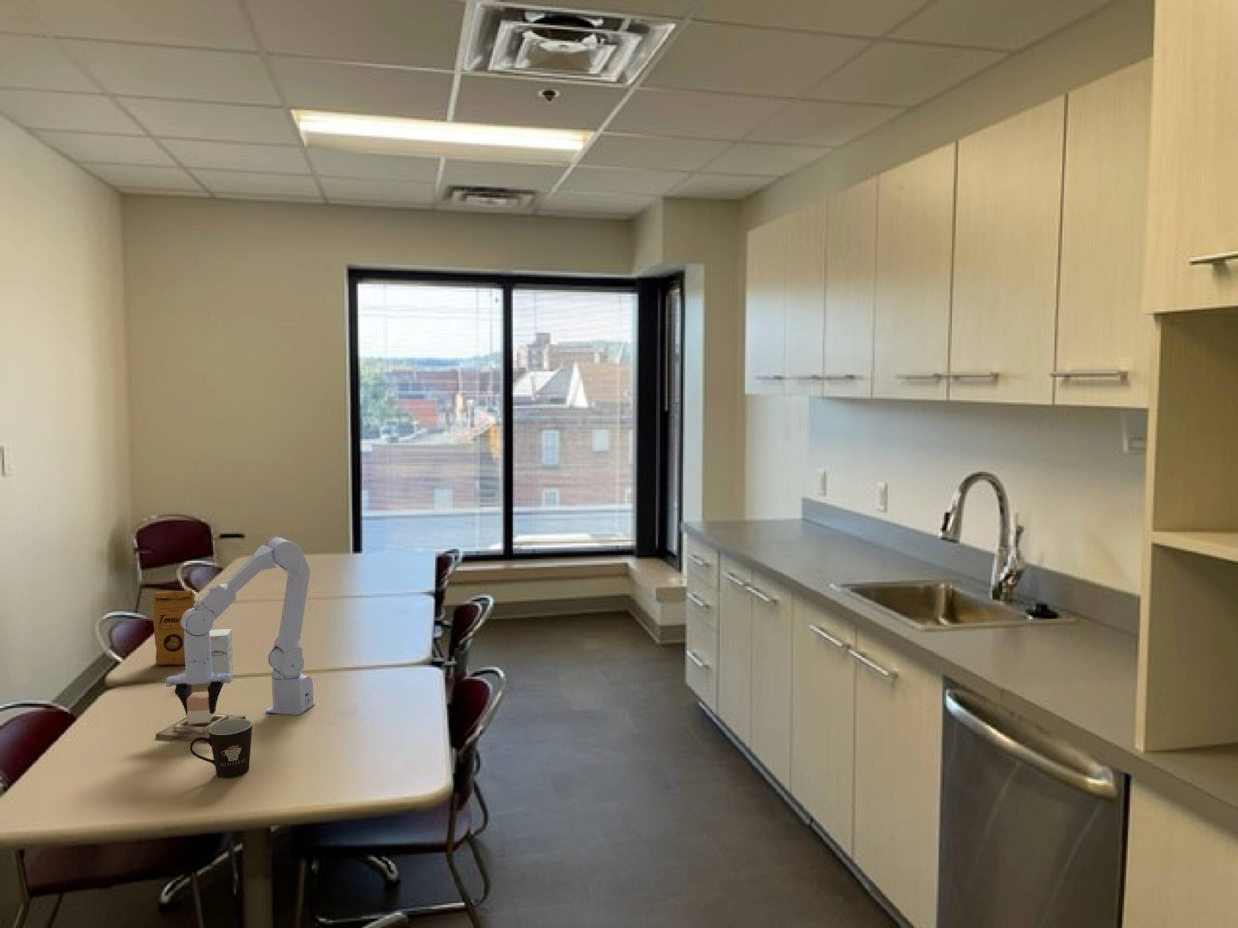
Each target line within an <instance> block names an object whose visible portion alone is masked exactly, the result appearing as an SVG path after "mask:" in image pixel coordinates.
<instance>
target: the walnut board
mask: <svg viewBox="0 0 1238 928" xmlns="http://www.w3.org/2000/svg"><path fill="white" fill-rule="evenodd" d="M233 719H246V716H245V715H236V714H222V713H215V716H214V717H213V718H212V719H211V721H210V722H204V723H189V724H188V717H187V716H186V717H184V718H183V719H181V720H179V721H177V722H175V723H173V724H172V725H170V726H168V727H166V728H164V729H162V730H161V731H159V732H157V733H155V739H162V740H171V741H172V740H174V741H187V742H192V741H193V740H195V739H196V738H199V737H205V738H210V736H209V728H210V727H211V726H213V725H214V724H217V723H219V722H223V721H227V720H233ZM246 720H247V719H246ZM197 742H199V743H207V742H206V741H204V740H199V741H197ZM197 742H196V743H197Z"/></svg>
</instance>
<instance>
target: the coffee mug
mask: <svg viewBox="0 0 1238 928" xmlns="http://www.w3.org/2000/svg"><path fill="white" fill-rule="evenodd" d="M252 733H253V722H252V721H251V720H249V719H233V720H227V721H223V722H219V723H217V724H214V725H213V726H211V727H210V728H209V736H210V738H205V737H199V738H196V739H195V740H193V741H190V744H189V751H190V753H191V754H192V755H193V756H195V757H196V758H198V759H200V760H203V761H206V762H207V763H211V764H213V766H214V767H215V773H216V776H217V777H218V778H220V779H233V778H239V777H241V776H243V775H245V774H247V773H248V772H249V771H250V762H251V761H250V760H251V748H252ZM199 740H204V741H206V742H205V743H207V744H208V745H209V746H210V747H211V751H212V756H213V759H211V758H208V757H205V756H203V755H200V754H198V753H197V752H195V751H194V750H193V746H194V744H195V743H197V741H199Z"/></svg>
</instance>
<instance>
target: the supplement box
mask: <svg viewBox="0 0 1238 928" xmlns="http://www.w3.org/2000/svg"><path fill="white" fill-rule="evenodd" d="M232 632H233V629H232V628H226V629H225V628H222V629H211V630H210V640H211V660H212V672H213V673H232V674H233V671H234V667H233V666H234V664H233V663H234V662H233V661H234V660H233V658H234V657H233V636H232V635H233V633H232Z"/></svg>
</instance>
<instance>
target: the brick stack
mask: <svg viewBox="0 0 1238 928" xmlns="http://www.w3.org/2000/svg"><path fill="white" fill-rule="evenodd" d="M215 714H216V711H215V712H214V714H210V700H209V694H208V691H195V692H191V695H190V696H189V697H188V698H187V715H186V717H188V724H189V723H204V722H210V721H211V719H212V718H213V717H214V716H215Z"/></svg>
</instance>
